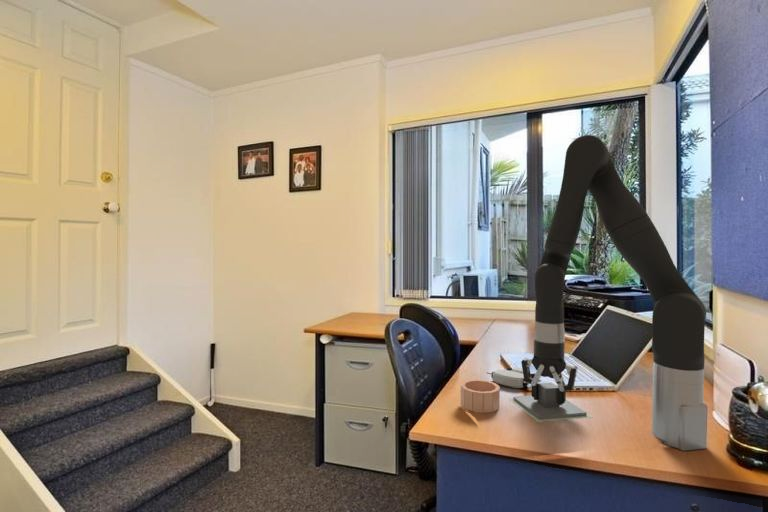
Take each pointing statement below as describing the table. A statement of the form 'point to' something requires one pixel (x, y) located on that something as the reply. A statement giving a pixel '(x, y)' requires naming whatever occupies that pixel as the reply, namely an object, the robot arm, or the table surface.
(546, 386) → the lid
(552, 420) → the mat
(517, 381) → the robot toy
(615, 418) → the table surface
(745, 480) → the table surface
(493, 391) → the bowl
